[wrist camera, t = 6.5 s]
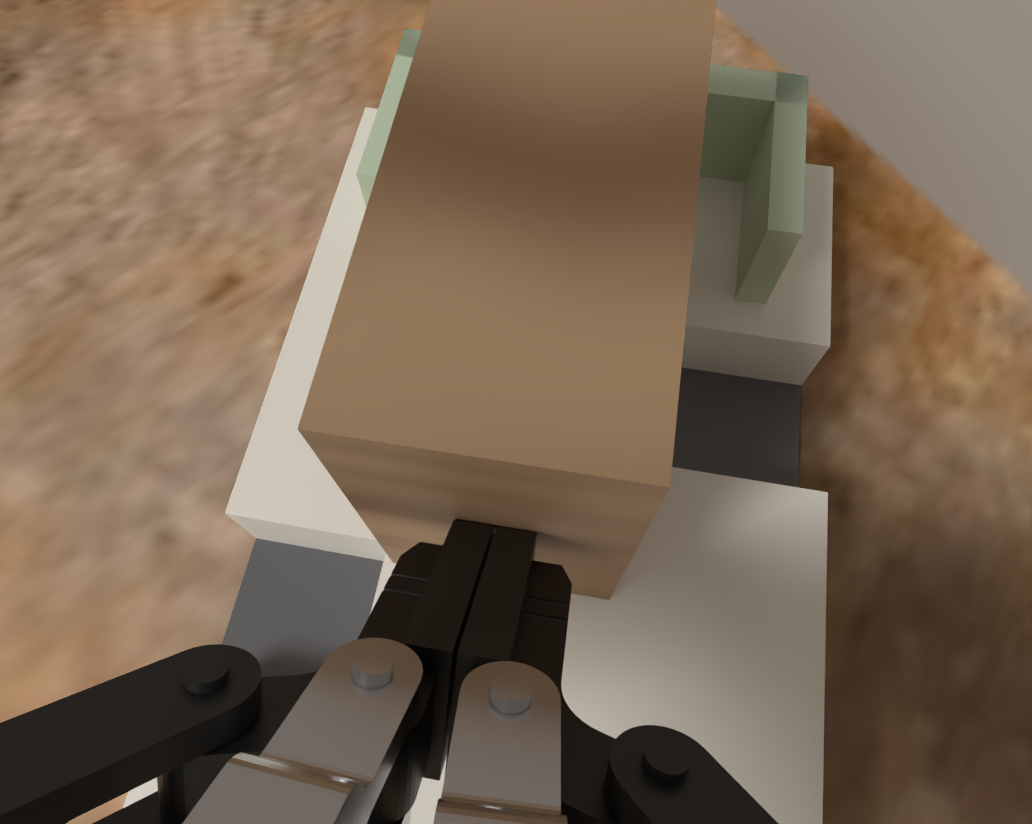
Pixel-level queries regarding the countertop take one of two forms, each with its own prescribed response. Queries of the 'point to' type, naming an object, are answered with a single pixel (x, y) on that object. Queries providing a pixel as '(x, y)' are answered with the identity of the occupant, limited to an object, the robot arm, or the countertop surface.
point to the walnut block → (523, 282)
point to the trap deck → (681, 516)
